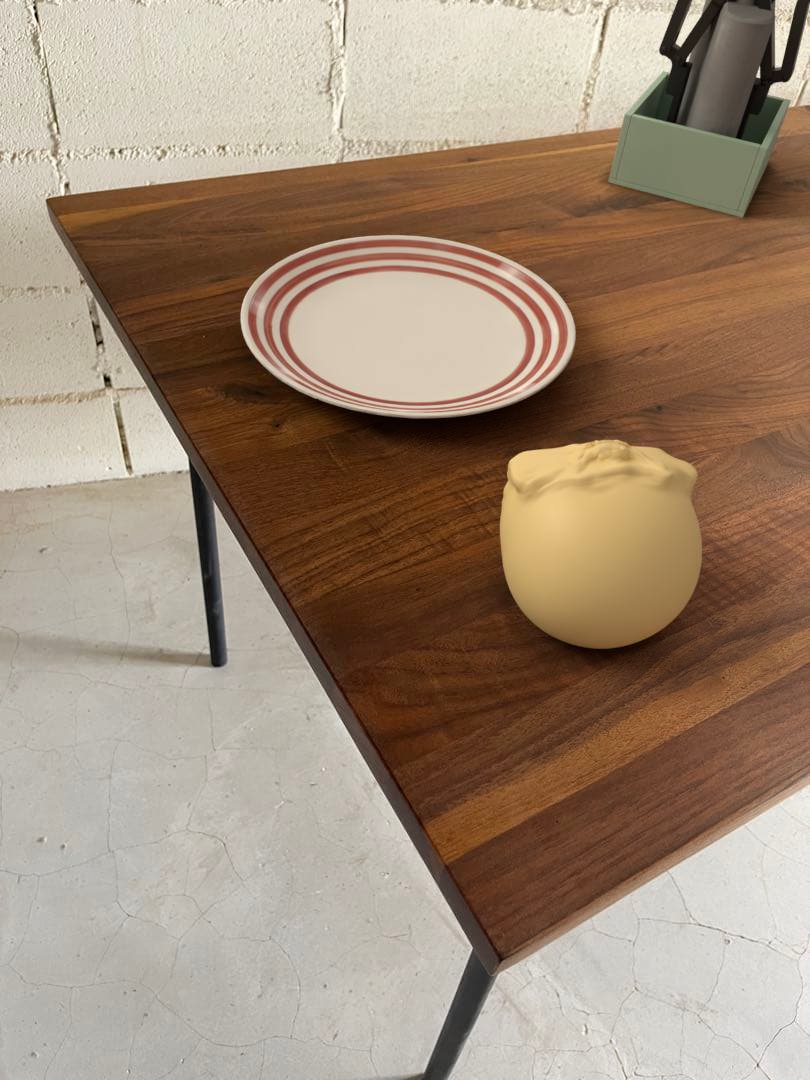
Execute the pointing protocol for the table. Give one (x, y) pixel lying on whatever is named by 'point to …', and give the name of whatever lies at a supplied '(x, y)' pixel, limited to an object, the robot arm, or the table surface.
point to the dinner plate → (408, 326)
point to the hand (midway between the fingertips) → (703, 133)
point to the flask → (725, 67)
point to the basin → (693, 154)
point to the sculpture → (600, 540)
